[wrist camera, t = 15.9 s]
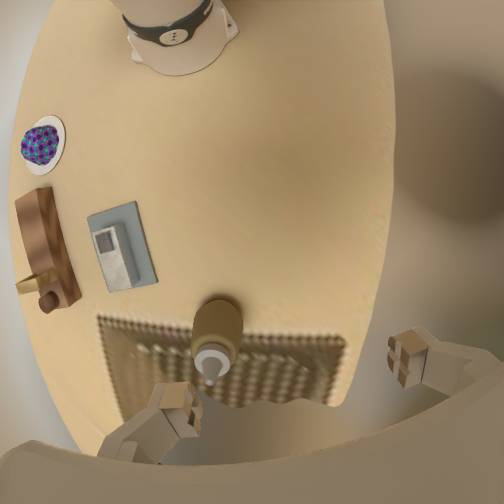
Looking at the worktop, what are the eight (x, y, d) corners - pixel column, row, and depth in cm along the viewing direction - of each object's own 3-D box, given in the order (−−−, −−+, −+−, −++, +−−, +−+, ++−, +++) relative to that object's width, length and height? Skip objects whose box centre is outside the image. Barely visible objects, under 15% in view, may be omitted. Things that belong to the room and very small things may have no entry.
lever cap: (103, 228, 41) (89, 234, 36) (124, 222, 41) (111, 227, 36) (119, 283, 43) (108, 293, 39) (140, 279, 43) (130, 289, 39)
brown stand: (30, 198, 40) (-6, 204, 29) (51, 187, 39) (15, 191, 29) (59, 300, 45) (30, 323, 34) (82, 296, 45) (52, 320, 34)
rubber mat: (89, 217, 41) (86, 217, 40) (136, 201, 41) (134, 201, 40) (111, 290, 45) (109, 292, 44) (158, 281, 44) (156, 283, 44)
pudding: (20, 165, 38) (4, 165, 33) (40, 110, 35) (24, 106, 30) (53, 183, 40) (37, 184, 34) (76, 123, 37) (60, 119, 32)
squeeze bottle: (247, 330, 47) (249, 401, 30) (203, 336, 47) (187, 406, 30) (238, 289, 45) (236, 350, 28) (192, 296, 45) (166, 358, 28)
